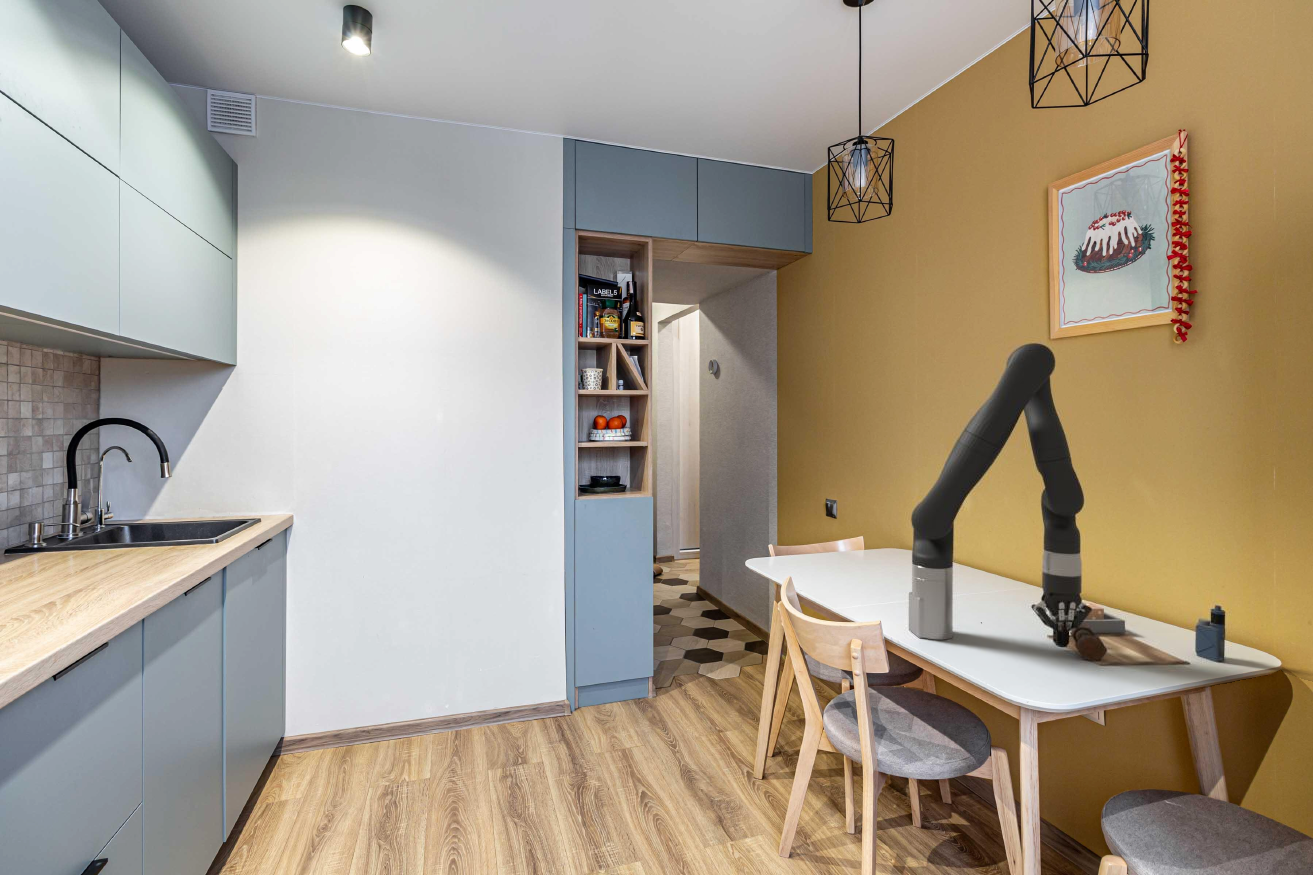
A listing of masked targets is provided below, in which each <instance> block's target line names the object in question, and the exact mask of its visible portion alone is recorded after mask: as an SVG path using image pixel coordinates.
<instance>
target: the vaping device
mask: <svg viewBox="0 0 1313 875" xmlns="http://www.w3.org/2000/svg"><path fill="white" fill-rule="evenodd" d="M1225 641H1226V611H1225V610H1223V609H1222V606H1221V605H1217V604H1215V605H1214V608H1210V620H1209V619H1207V618H1198V622H1197V623H1196V625H1195V641H1194V642H1195V647H1194V648H1195V650H1194V651H1195V653H1196V656H1197V657H1200V658H1202V657H1203V658H1202V659H1205V658H1206V660H1208V659H1209V660H1208V661H1212V660H1213V661H1212V662H1215V661H1217V662H1216V663H1223V662H1225V655H1226V654H1225V653H1226V652H1225V643H1226V642H1225ZM1222 661H1223V662H1222Z"/></svg>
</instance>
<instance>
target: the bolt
mask: <svg viewBox="0 0 1313 875" xmlns="http://www.w3.org/2000/svg"><path fill="white" fill-rule="evenodd" d="M1069 635H1071V636H1072V637H1073V639H1074V640H1075V642H1076V644H1075V646H1076V648H1077V650H1078V651H1079V653H1080V654H1081V655H1080V654H1079V655H1080V656H1081V657H1082V659H1083V660H1089V661H1091V660H1093V661H1100V660H1101V659H1102V658H1103V656H1104V655H1105V654H1106V652H1107V649H1106V647H1105V646H1104V644H1103V643H1102V641H1101V640H1100V638H1099V637H1098V636H1095V634H1094V633H1093V631H1092V630H1091V628H1090V627H1089V626H1085V625H1080V626H1079V627H1078V628H1077V629H1075V628H1073V629H1072V631H1069ZM1093 661H1092V662H1093Z"/></svg>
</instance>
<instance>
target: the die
mask: <svg viewBox="0 0 1313 875" xmlns="http://www.w3.org/2000/svg"><path fill="white" fill-rule="evenodd" d="M1083 603H1084V604H1085V605H1087V606H1089V607H1091V608H1092V611H1091V612H1090V613H1089V615H1088V616H1087V617H1086V618H1085V620H1104V612H1105V608H1103V607H1101V606H1099V605H1096V604H1094V603H1092V602H1083Z"/></svg>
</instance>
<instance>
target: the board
mask: <svg viewBox="0 0 1313 875" xmlns="http://www.w3.org/2000/svg"><path fill="white" fill-rule="evenodd" d="M1095 636H1098V637H1099V638H1100V640H1101V641H1102V643H1103V644H1104V646H1105V647H1106V649H1107V652H1106V654H1105V655H1104V656H1103V658H1102V659H1101V660H1100V661H1093V660H1090V661H1091V662H1093V663H1094V664H1097V665H1099V666H1140V665H1141V666H1143V665H1144V666H1146V665H1147V666H1152V665H1156V666H1157V665H1161V666H1162V665H1190V664H1191V663H1190V661H1187V660H1183V659H1181V658H1178V657H1177V656H1174V655H1172V654H1170V653H1168V652H1165V651H1163V650H1161V649H1158V648H1156V647H1154V646H1152V645H1149V644H1147V643H1145V642H1142V641H1140V640H1139V639H1137V638H1136V639H1135V638H1133V637H1132V636H1129V634H1126V633H1125V634H1101V635H1095ZM1046 637H1047V638H1048V639H1049V640H1052V641H1053V634H1047V635H1046ZM1075 644H1076V642H1075V640H1074V639H1073V637H1072V636H1071V634H1069V644H1068V645H1067V647H1066V648H1067V649H1069V650H1071V651H1072V652H1074V653H1075V654H1079V655H1080V656H1081V654H1080V653H1079V651H1078V650H1077V648H1076V646H1075Z"/></svg>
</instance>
